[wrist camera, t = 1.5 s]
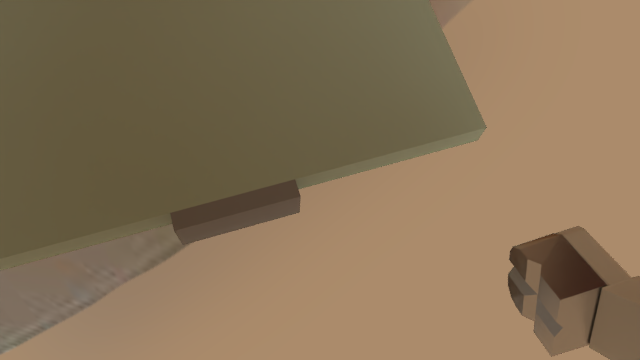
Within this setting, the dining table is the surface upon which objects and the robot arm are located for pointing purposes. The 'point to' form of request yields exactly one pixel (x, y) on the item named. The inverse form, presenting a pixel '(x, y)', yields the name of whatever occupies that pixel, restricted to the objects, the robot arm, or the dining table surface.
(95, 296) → the dining table surface
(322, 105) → the lid
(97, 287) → the dining table surface
